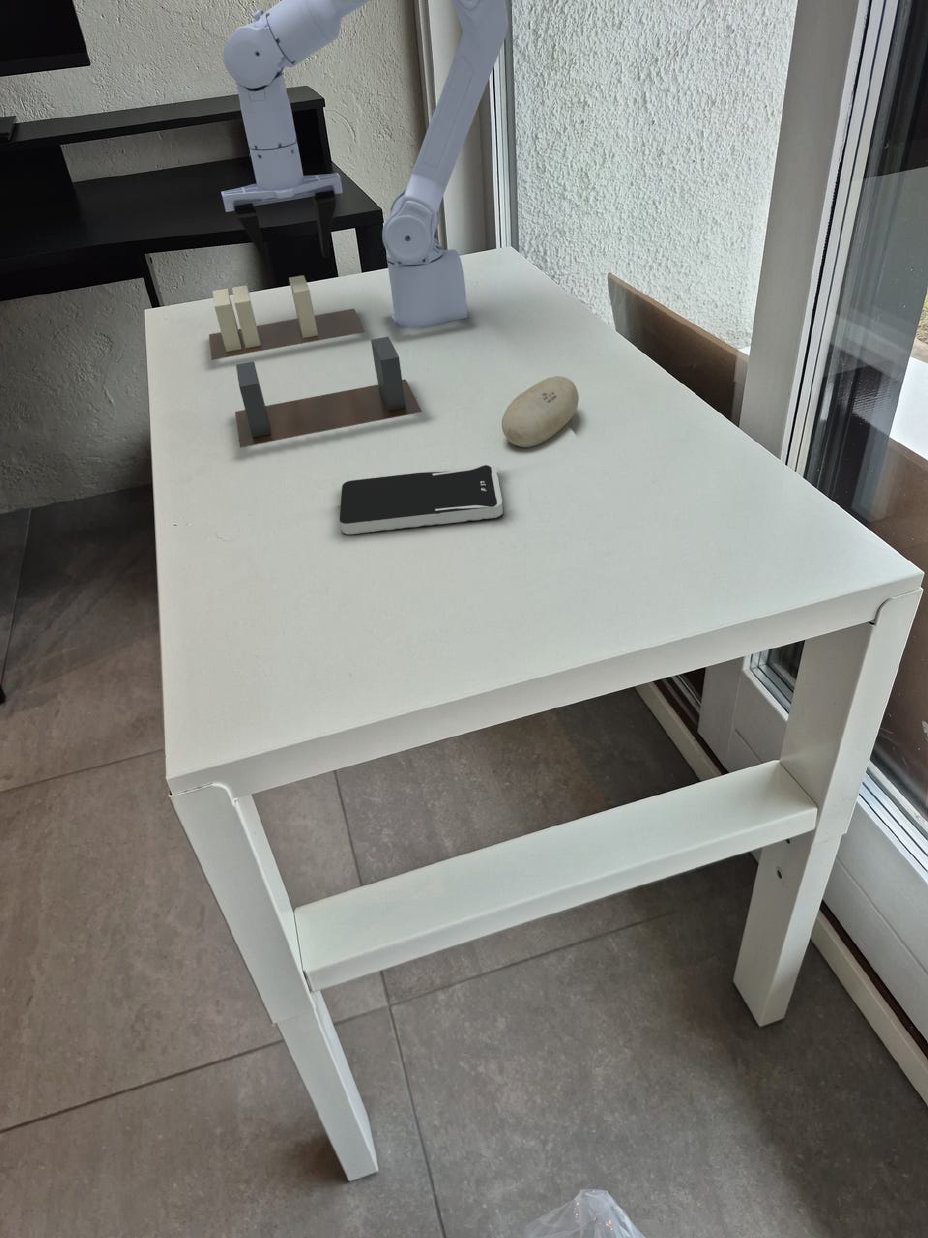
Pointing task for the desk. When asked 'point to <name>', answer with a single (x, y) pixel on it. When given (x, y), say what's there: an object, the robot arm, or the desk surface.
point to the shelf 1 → (291, 333)
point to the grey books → (385, 372)
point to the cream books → (229, 321)
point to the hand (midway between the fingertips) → (296, 260)
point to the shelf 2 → (324, 414)
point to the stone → (540, 411)
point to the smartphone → (420, 499)
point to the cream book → (303, 306)
